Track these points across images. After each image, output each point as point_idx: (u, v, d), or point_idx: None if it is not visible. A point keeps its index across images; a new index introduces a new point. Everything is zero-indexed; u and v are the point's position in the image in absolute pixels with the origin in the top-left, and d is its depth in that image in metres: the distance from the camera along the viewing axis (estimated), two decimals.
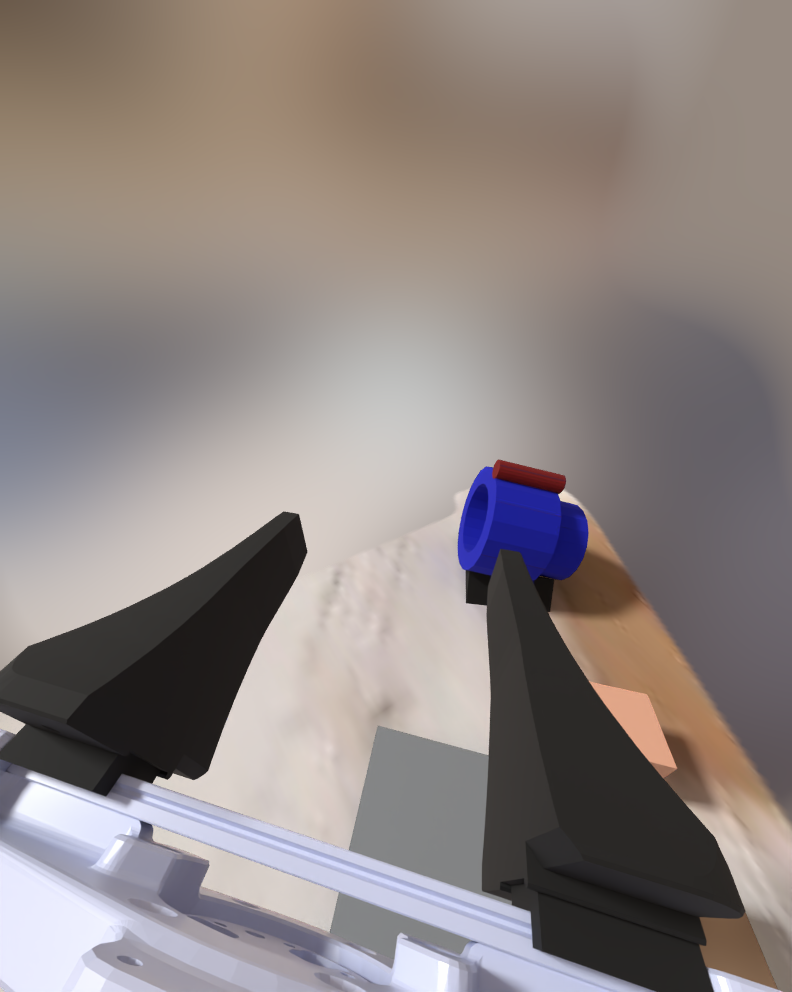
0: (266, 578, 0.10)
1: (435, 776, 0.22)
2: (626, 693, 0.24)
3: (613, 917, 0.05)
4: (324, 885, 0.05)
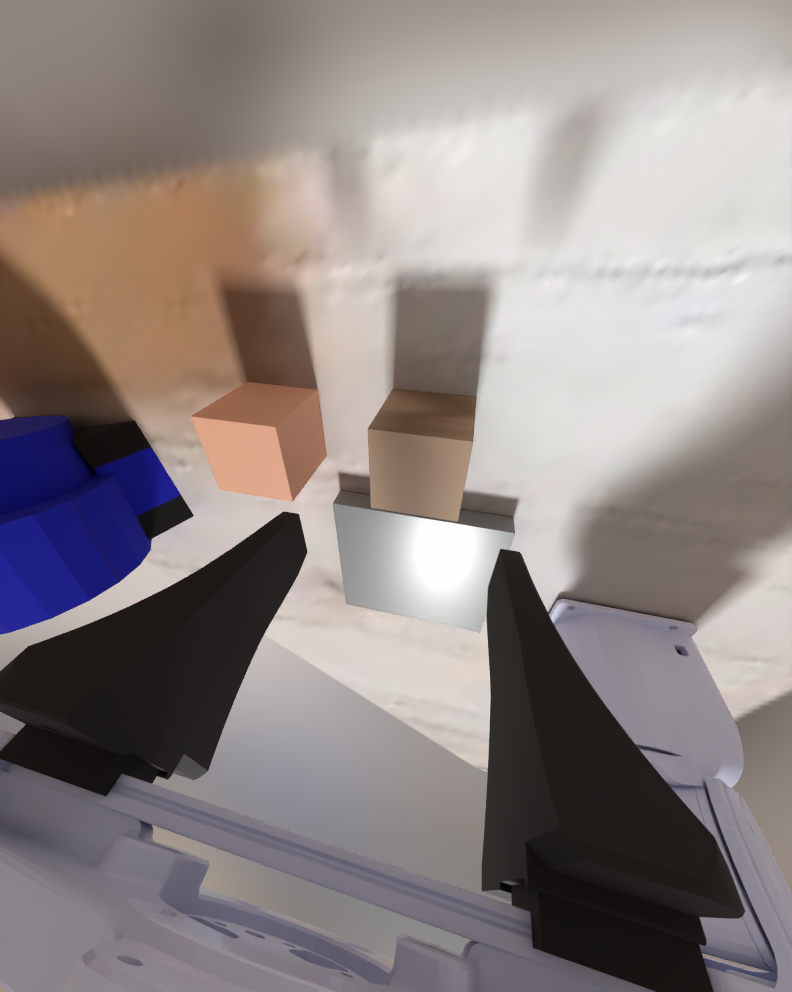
0: (266, 578, 0.10)
1: (365, 576, 0.26)
2: (206, 444, 0.17)
3: (613, 917, 0.05)
4: (324, 885, 0.05)
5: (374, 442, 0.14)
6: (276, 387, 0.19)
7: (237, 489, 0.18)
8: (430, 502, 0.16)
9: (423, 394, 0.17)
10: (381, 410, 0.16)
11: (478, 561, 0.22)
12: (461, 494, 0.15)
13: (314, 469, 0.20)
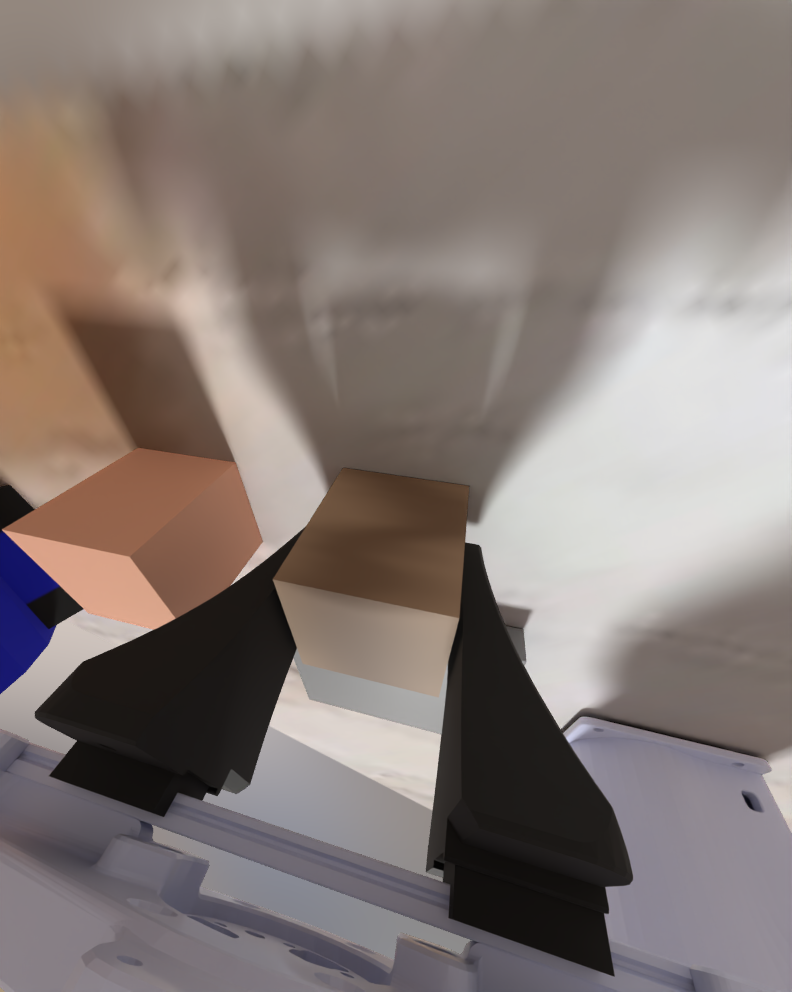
0: None
1: (328, 678, 0.20)
2: (43, 564, 0.11)
3: (523, 888, 0.05)
4: (324, 885, 0.05)
5: (288, 596, 0.08)
6: (176, 458, 0.13)
7: (111, 616, 0.12)
8: (392, 672, 0.10)
9: (386, 482, 0.11)
10: (310, 524, 0.09)
11: None
12: (442, 672, 0.09)
13: (238, 570, 0.14)
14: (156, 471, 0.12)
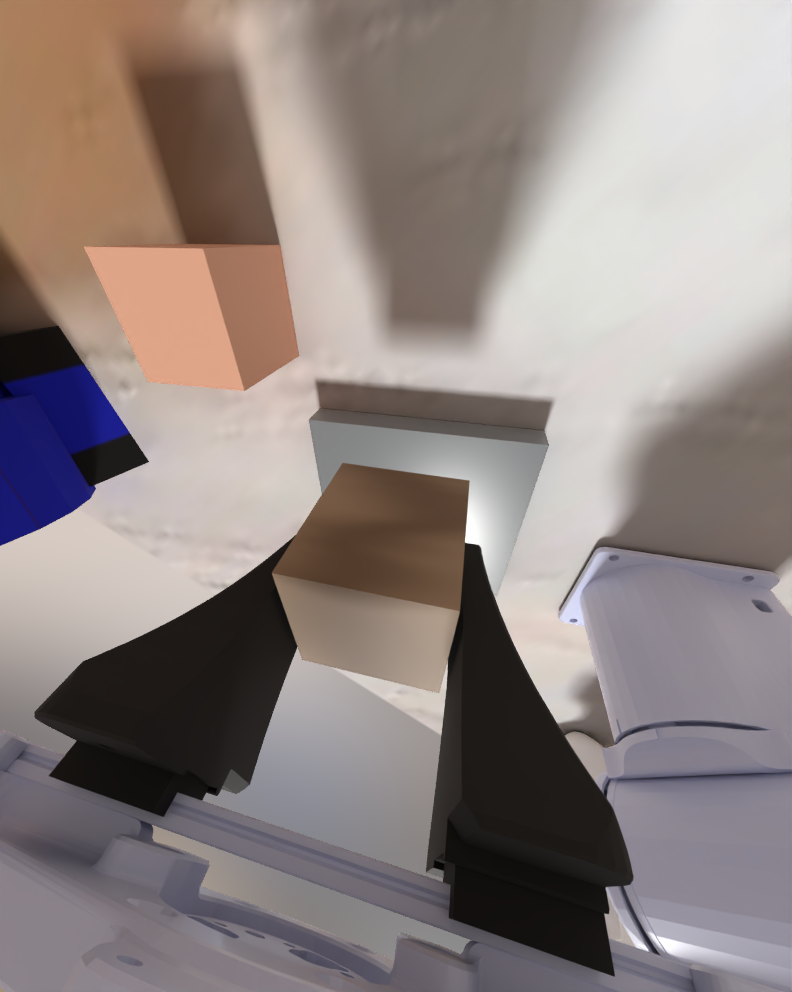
0: None
1: None
2: (115, 299, 0.12)
3: (524, 888, 0.05)
4: (324, 885, 0.05)
5: (287, 590, 0.08)
6: (224, 244, 0.14)
7: (170, 378, 0.13)
8: (392, 668, 0.10)
9: (386, 476, 0.11)
10: (310, 518, 0.09)
11: (497, 493, 0.17)
12: (442, 667, 0.09)
13: (280, 363, 0.15)
14: None
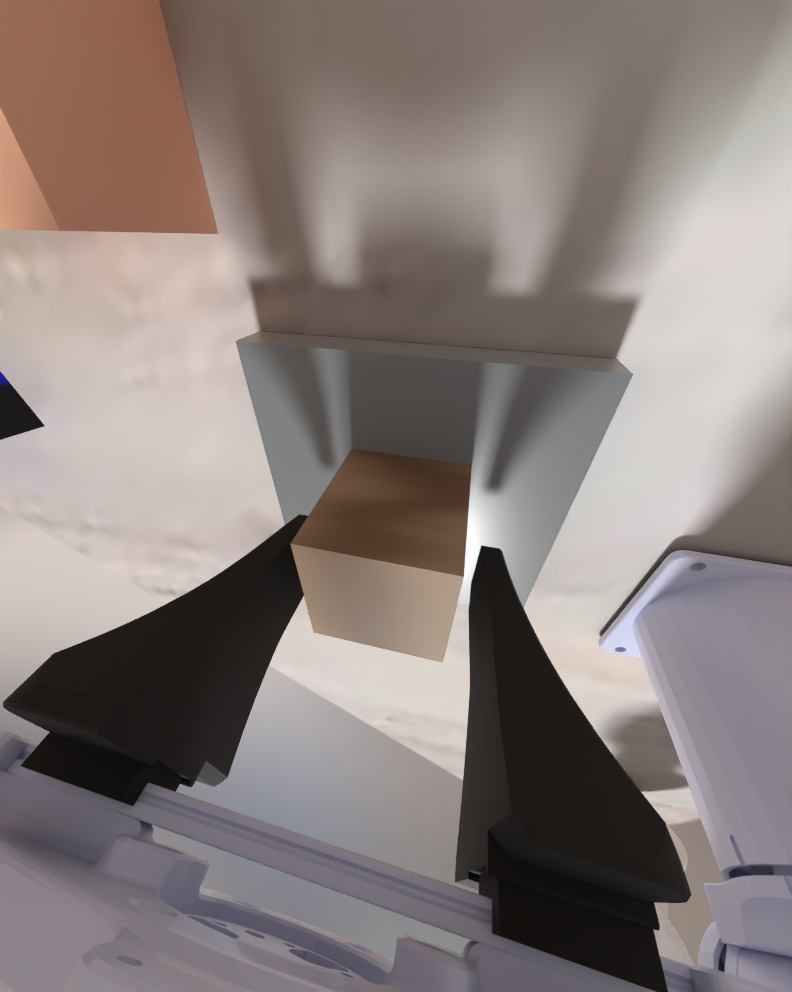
0: (284, 581, 0.10)
1: None
2: None
3: (570, 903, 0.05)
4: (324, 885, 0.05)
5: (304, 561, 0.09)
6: None
7: None
8: (399, 637, 0.10)
9: (393, 461, 0.12)
10: (323, 497, 0.10)
11: (534, 463, 0.11)
12: (446, 635, 0.10)
13: (170, 225, 0.09)
14: None
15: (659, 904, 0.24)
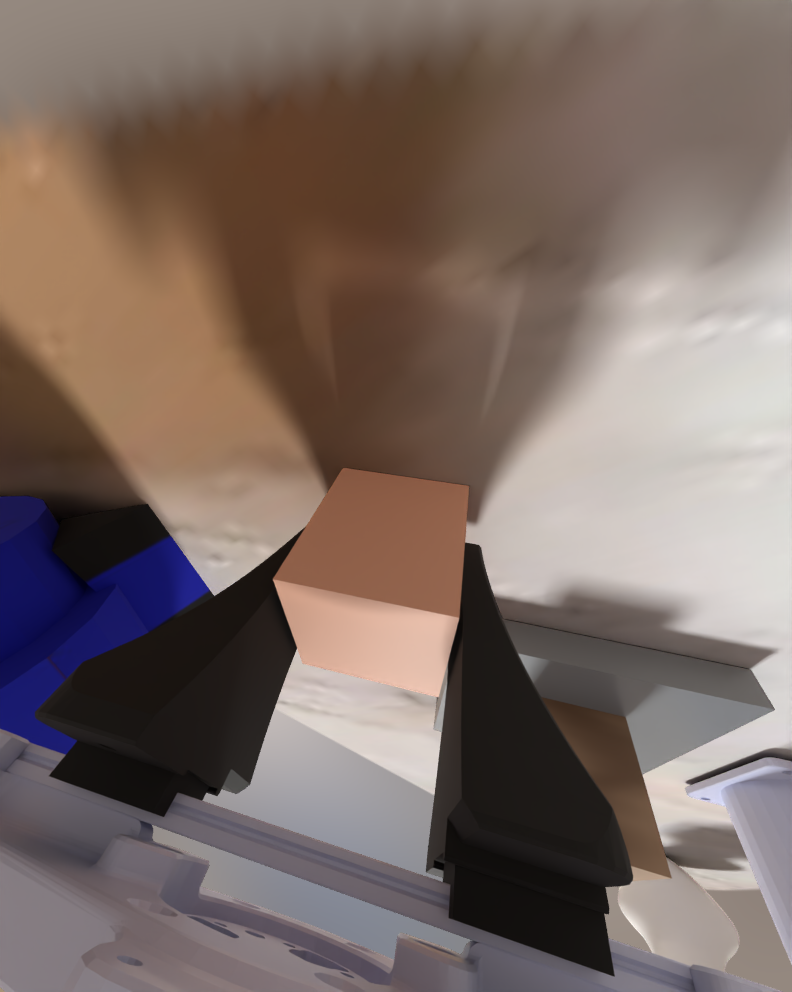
0: None
1: None
2: (294, 615, 0.09)
3: (523, 888, 0.05)
4: (324, 885, 0.05)
5: None
6: (397, 481, 0.11)
7: (336, 668, 0.10)
8: None
9: (565, 713, 0.15)
10: None
11: (678, 725, 0.15)
12: None
13: None
14: (389, 498, 0.10)
15: None
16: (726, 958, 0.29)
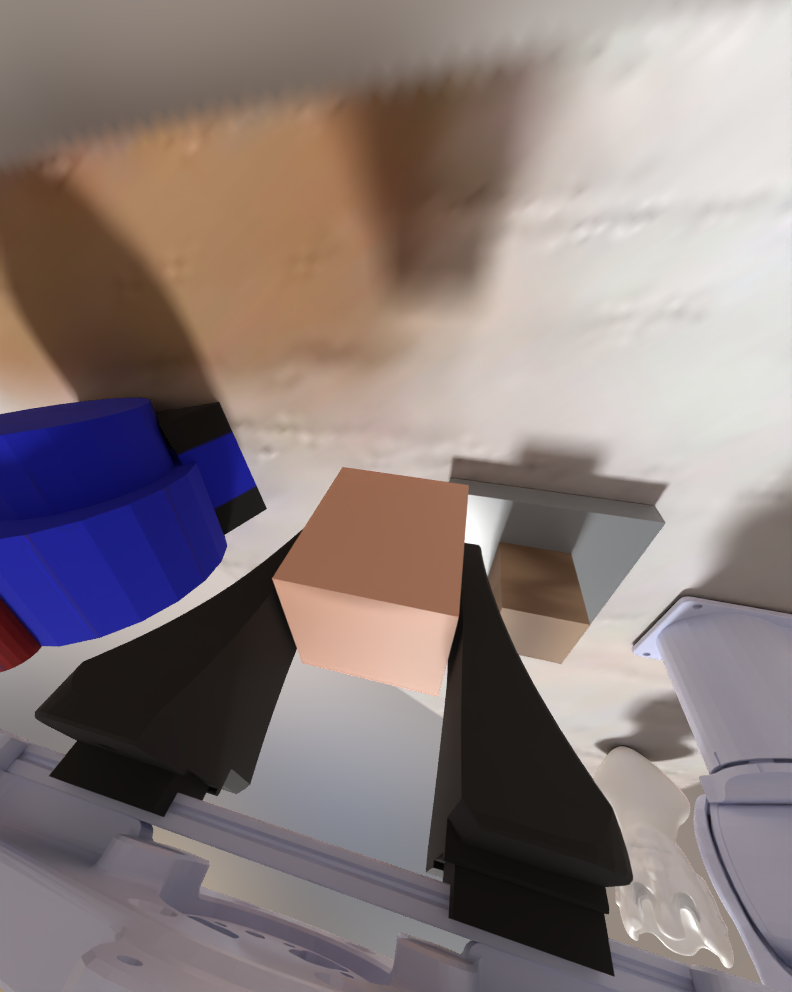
0: None
1: None
2: (294, 615, 0.09)
3: (523, 888, 0.05)
4: (324, 885, 0.05)
5: (504, 615, 0.18)
6: (396, 481, 0.11)
7: (335, 668, 0.10)
8: (540, 651, 0.19)
9: (527, 551, 0.21)
10: (502, 578, 0.19)
11: (608, 555, 0.20)
12: (569, 650, 0.19)
13: None
14: (388, 498, 0.10)
15: (670, 837, 0.34)
16: (678, 821, 0.35)
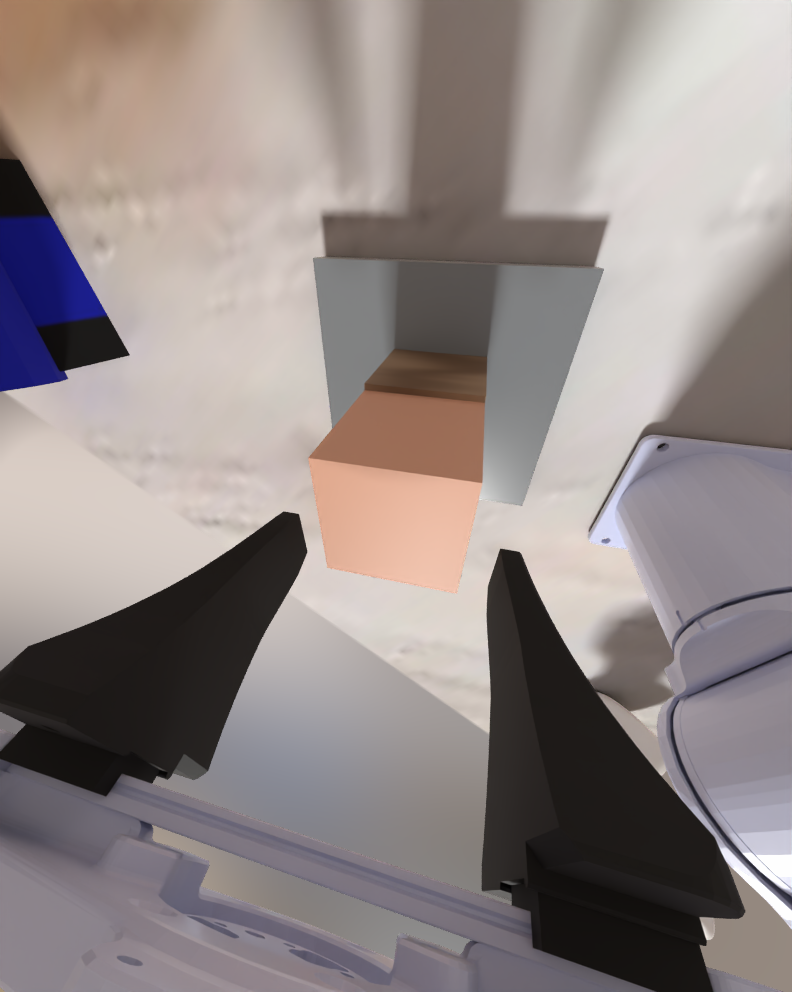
0: (266, 578, 0.10)
1: None
2: (325, 503, 0.09)
3: (613, 917, 0.05)
4: (324, 885, 0.05)
5: None
6: (416, 399, 0.12)
7: (359, 570, 0.11)
8: None
9: (427, 354, 0.15)
10: (380, 367, 0.14)
11: (534, 352, 0.15)
12: None
13: None
14: (410, 410, 0.11)
15: None
16: None
